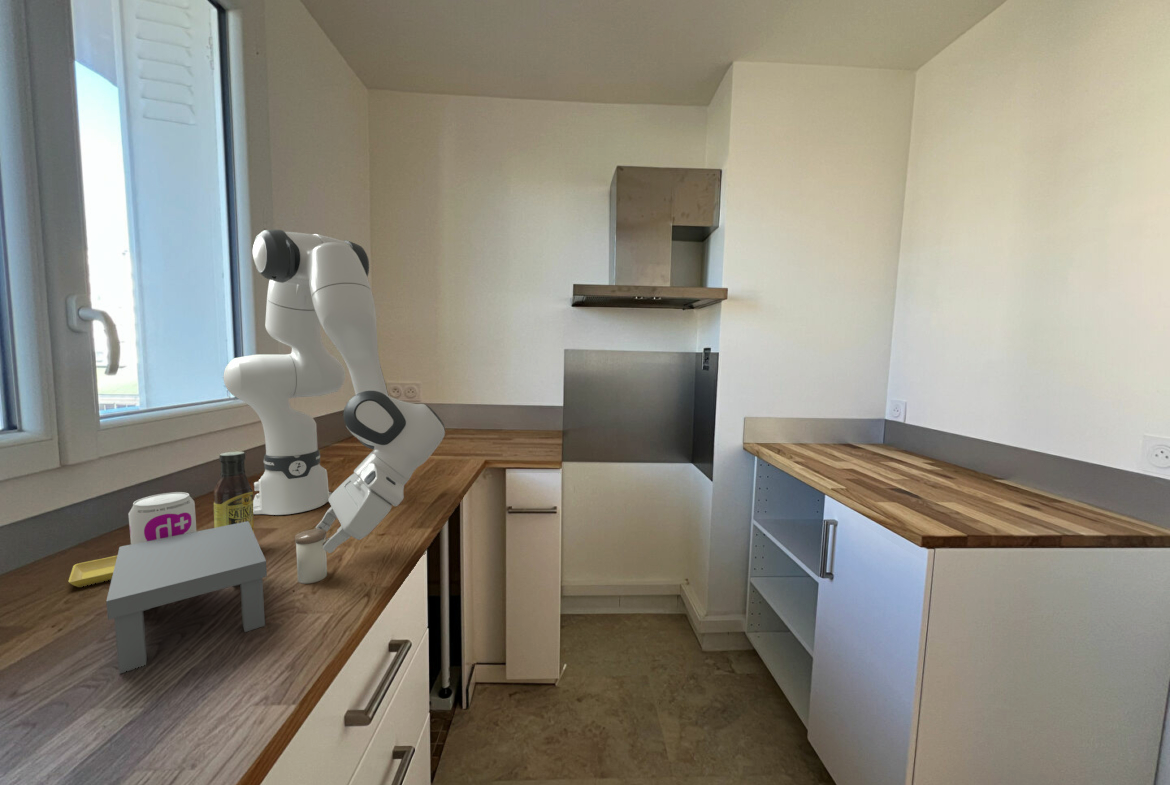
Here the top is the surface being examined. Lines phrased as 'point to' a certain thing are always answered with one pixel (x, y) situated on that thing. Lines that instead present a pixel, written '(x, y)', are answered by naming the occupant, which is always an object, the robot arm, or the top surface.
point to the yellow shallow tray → (92, 571)
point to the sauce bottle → (233, 492)
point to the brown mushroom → (311, 556)
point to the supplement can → (161, 517)
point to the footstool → (182, 580)
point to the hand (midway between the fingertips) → (322, 540)
